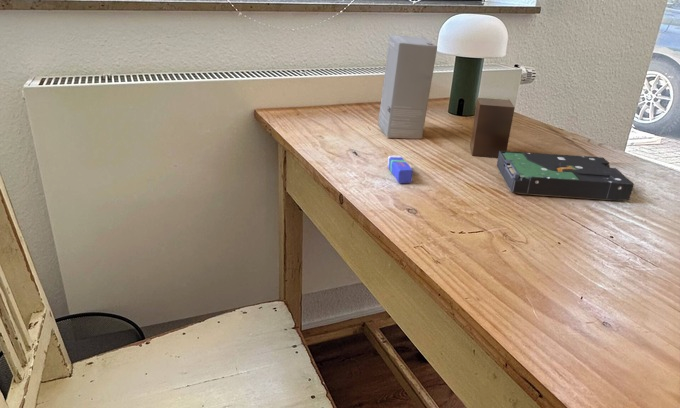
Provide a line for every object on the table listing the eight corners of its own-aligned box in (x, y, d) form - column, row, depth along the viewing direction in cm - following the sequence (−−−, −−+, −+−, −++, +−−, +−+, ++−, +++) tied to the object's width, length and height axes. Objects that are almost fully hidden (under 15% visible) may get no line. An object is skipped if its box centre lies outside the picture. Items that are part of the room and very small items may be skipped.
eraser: (400, 167, 73) (401, 154, 72) (411, 183, 67) (413, 169, 66) (386, 168, 72) (387, 154, 71) (397, 184, 67) (398, 169, 66)
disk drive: (597, 174, 74) (494, 167, 74) (602, 156, 73) (498, 148, 73) (630, 204, 64) (511, 195, 65) (636, 183, 63) (515, 174, 64)
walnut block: (501, 148, 83) (510, 99, 80) (505, 158, 78) (514, 107, 75) (470, 146, 84) (477, 97, 80) (472, 155, 79) (480, 104, 76)
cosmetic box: (377, 125, 93) (383, 34, 86) (415, 125, 93) (425, 35, 87) (386, 139, 85) (394, 40, 78) (427, 139, 86) (439, 41, 79)
